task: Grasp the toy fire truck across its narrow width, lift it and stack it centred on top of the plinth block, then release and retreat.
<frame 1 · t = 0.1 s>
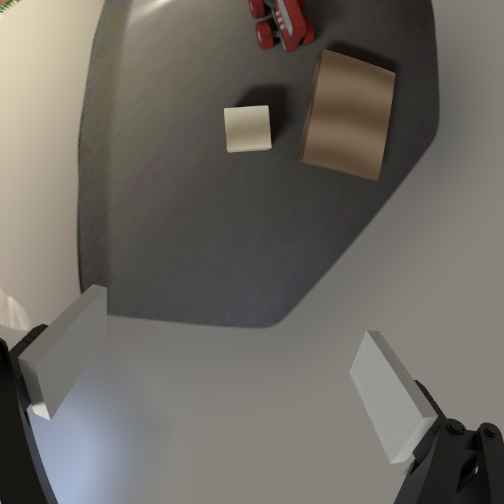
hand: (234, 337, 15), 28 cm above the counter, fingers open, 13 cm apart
plinth: (343, 116, 38), on the counter
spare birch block: (247, 132, 38), on the counter
toy fire truck: (278, 22, 34), on the counter
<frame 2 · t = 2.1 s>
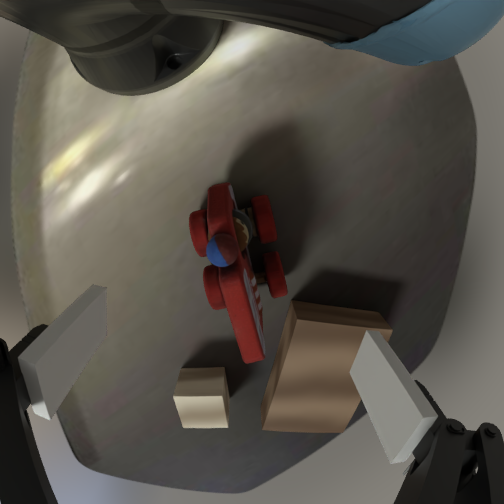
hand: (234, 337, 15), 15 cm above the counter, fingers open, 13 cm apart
plinth: (317, 364, 33), on the counter
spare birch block: (205, 383, 34), on the counter
toy fire truck: (239, 245, 29), on the counter
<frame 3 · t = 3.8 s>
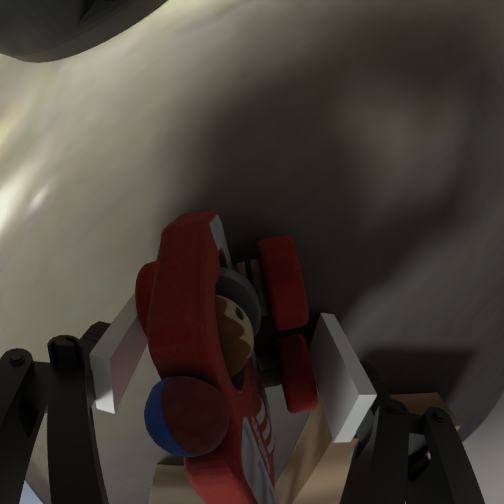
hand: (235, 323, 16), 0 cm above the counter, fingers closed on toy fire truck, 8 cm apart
plinth: (346, 458, 20), on the counter
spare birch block: (192, 479, 21), on the counter
toy fire truck: (234, 317, 16), on the counter, touching gripper
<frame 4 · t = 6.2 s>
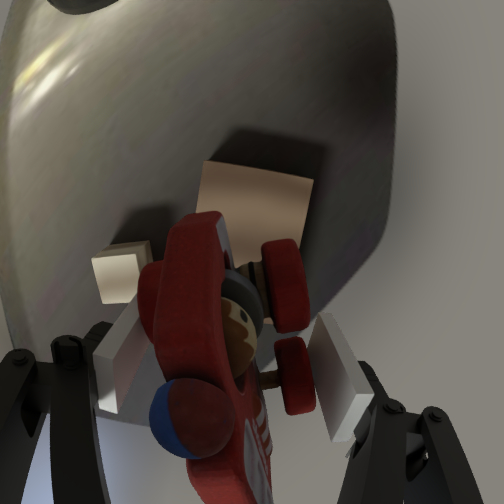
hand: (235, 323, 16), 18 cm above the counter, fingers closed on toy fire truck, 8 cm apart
plinth: (244, 238, 33), on the counter
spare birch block: (133, 263, 34), on the counter
toy fire truck: (234, 318, 16), point 17 cm above the counter, touching gripper
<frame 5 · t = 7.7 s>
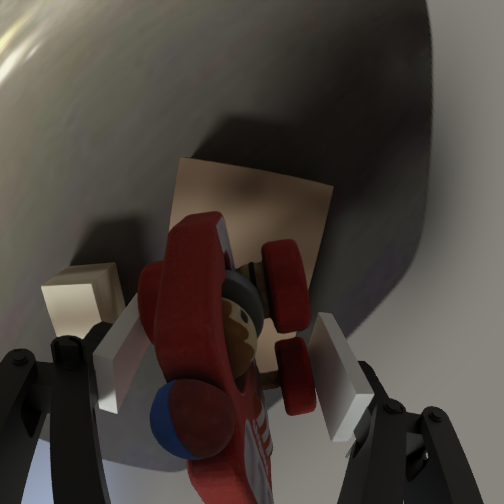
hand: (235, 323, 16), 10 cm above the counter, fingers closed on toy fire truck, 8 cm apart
plinth: (237, 262, 25), on the counter
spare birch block: (97, 290, 26), on the counter
toy fire truck: (234, 319, 16), point 9 cm above the counter, touching gripper
when the fingers open (6 cm above the counter, at t = 8.9 s): toy fire truck drops 1 cm, resting on plinth.
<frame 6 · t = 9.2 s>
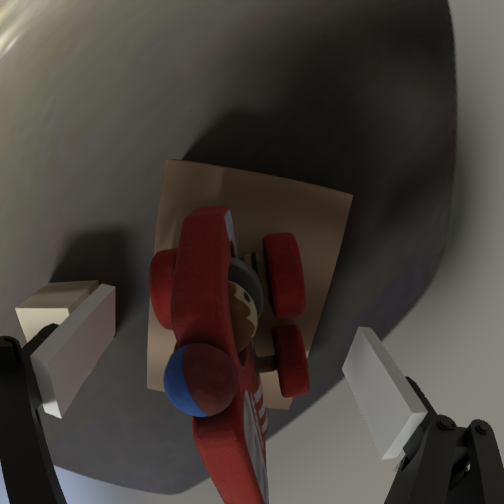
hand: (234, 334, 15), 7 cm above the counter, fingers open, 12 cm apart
plinth: (237, 282, 21), on the counter
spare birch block: (80, 310, 22), on the counter
toy fire truck: (235, 306, 18), point 4 cm above the counter, touching plinth
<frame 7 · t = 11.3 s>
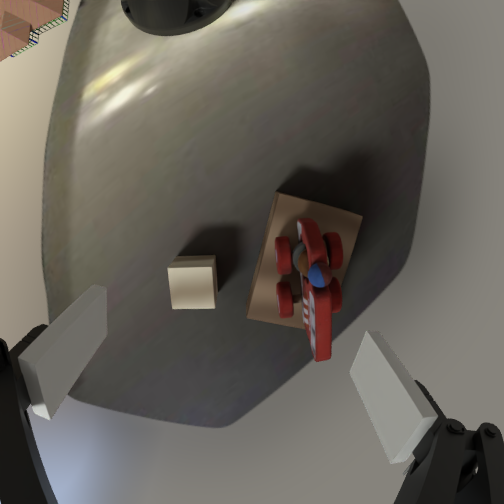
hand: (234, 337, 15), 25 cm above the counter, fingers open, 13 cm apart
plinth: (298, 258, 39), on the counter
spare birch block: (197, 274, 40), on the counter
toy fire truck: (304, 268, 36), point 4 cm above the counter, touching plinth
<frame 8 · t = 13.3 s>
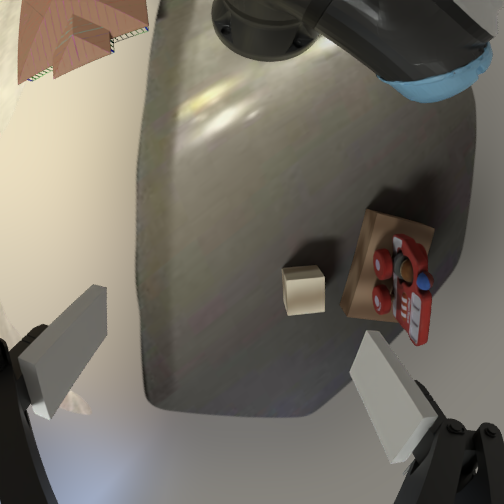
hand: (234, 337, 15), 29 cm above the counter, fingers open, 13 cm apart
plinth: (382, 264, 44), on the counter
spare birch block: (299, 282, 45), on the counter
toy fire truck: (392, 272, 41), point 4 cm above the counter, touching plinth
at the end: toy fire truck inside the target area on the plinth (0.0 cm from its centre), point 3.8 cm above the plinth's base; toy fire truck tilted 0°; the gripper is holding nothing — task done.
